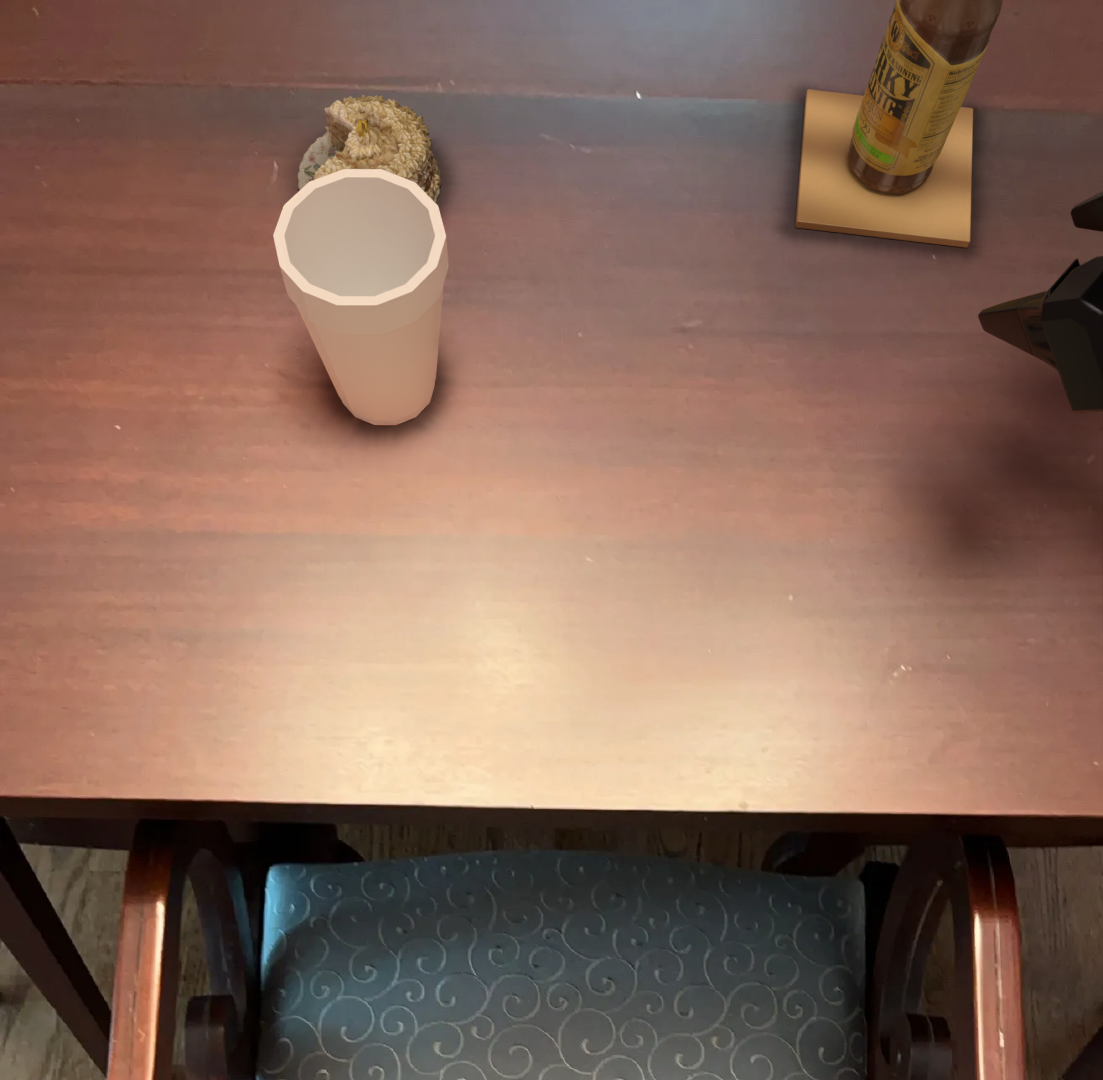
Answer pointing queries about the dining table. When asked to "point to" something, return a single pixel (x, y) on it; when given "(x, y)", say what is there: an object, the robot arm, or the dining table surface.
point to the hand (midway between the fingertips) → (1028, 267)
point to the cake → (373, 143)
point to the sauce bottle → (918, 89)
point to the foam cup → (368, 286)
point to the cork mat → (855, 208)
